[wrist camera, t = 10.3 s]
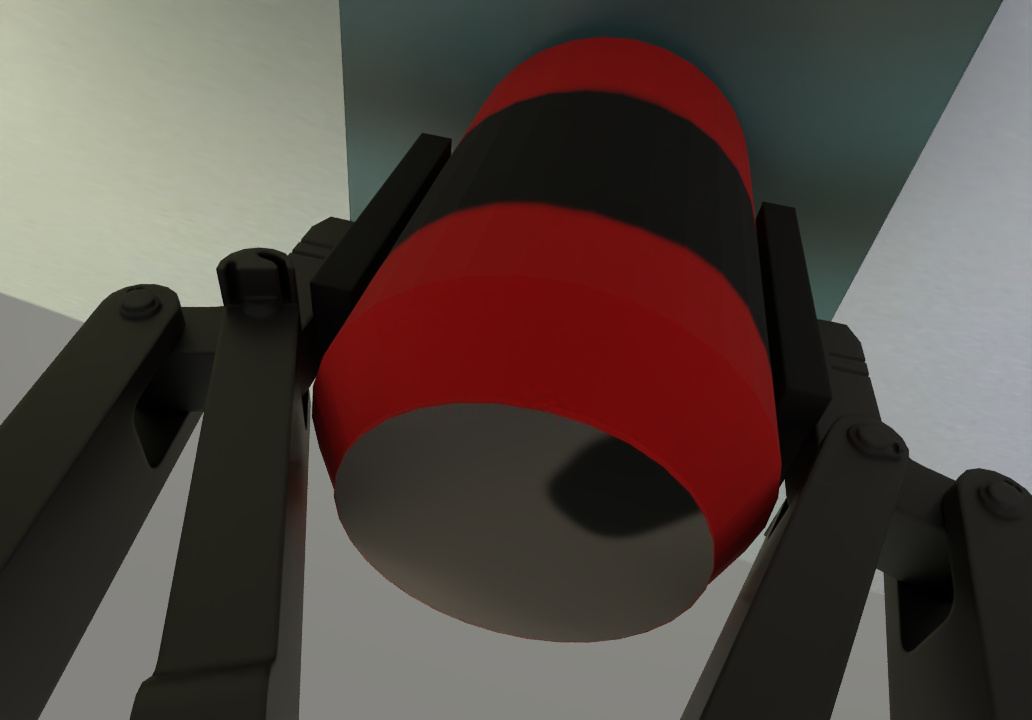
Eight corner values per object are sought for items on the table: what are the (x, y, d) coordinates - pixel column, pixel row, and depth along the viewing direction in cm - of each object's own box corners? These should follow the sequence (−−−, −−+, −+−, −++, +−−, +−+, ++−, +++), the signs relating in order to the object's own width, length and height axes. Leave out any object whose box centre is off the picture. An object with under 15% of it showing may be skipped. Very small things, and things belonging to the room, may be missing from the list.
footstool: (414, -205, 21) (319, -193, 16) (961, -116, 20) (1053, -69, 14) (409, 208, 30) (347, 301, 25) (779, 285, 29) (795, 401, 24)
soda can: (809, 183, 18) (910, 594, 9) (602, 331, 23) (534, 704, 14) (606, -43, 16) (479, 218, 7) (419, 172, 20) (195, 499, 11)
